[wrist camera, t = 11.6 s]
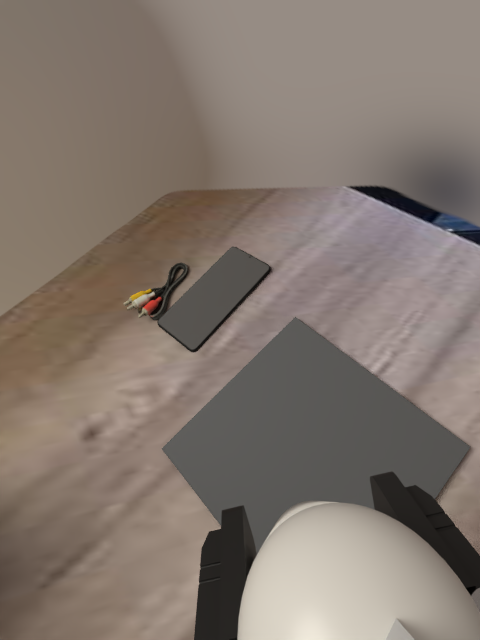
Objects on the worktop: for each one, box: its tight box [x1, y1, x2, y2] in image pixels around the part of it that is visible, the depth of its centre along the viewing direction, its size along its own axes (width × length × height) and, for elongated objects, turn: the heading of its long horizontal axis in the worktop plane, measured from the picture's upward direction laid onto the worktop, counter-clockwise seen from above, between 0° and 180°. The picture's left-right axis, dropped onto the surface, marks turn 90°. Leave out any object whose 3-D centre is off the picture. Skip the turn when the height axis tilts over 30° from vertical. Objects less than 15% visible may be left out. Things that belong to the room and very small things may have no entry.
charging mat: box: [162, 317, 470, 554], centre depth 30 cm, size 20×20×1 cm
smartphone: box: [158, 247, 270, 352], centre depth 40 cm, size 7×1×15 cm
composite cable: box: [124, 263, 188, 320], centre depth 41 cm, size 10×5×2 cm, turn 138°
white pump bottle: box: [237, 501, 480, 640], centre depth 8 cm, size 4×4×12 cm
